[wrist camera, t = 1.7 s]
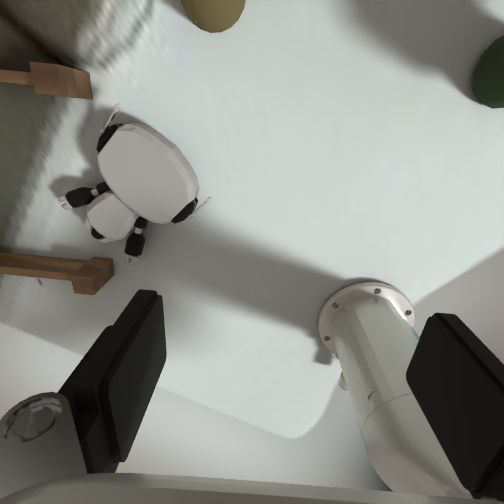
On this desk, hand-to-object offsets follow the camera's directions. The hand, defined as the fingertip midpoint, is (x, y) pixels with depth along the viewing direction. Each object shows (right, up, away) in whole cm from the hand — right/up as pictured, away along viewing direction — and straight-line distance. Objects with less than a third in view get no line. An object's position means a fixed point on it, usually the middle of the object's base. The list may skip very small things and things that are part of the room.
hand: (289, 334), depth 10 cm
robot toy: (-14, +10, +24) cm, 30 cm away
